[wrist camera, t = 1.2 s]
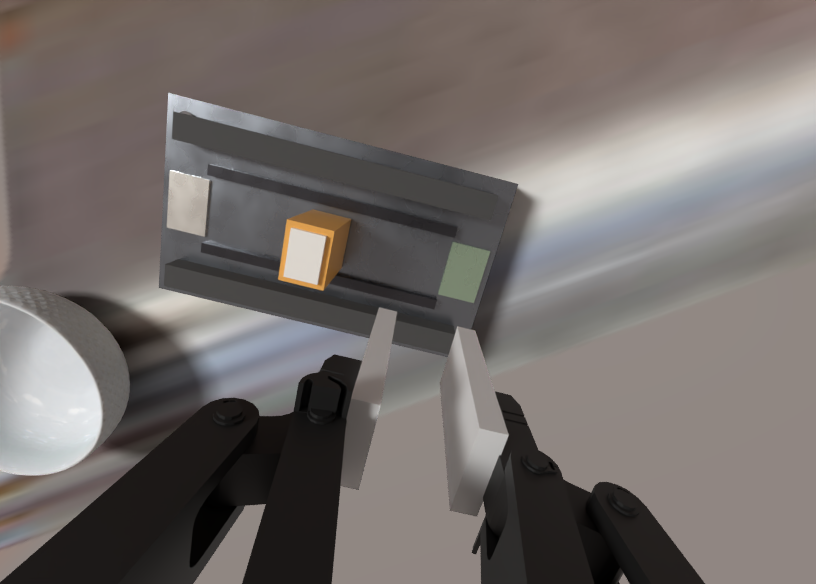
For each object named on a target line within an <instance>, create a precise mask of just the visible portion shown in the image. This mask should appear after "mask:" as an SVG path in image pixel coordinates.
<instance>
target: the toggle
mask: <svg viewBox="0 0 816 584" xmlns="http://www.w3.org/2000/svg"><path fill="white" fill-rule="evenodd" d="M350 224H351V219H350V218H346V217H342V216H338V215H334V214H330V213H326V212H322V211H318V210H314V209H312V210H310V211H307V212H305V213H302V214H299V215H297V216H294V217H292V218H289V219H287V222H286V229H285V236H284V243H283V249H282V256H281V263H280V270H279V276H278V280H281V281H285V282H289V283H293V284H298V285H302V286H306V287H310V288H314V289H318V290H322V291H324V289H325V288H326V287H327V286H328V284H329V283H330V282H331V281H332V279H333V278H334V277H335V276H336V274H337V273H338V272H339V271H340V269H341V268H342V264H343V259H344V254H345V249H346V244H347V239H348V234H349V229H350Z"/></svg>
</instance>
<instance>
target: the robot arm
mask: <svg viewBox="0 0 816 584" xmlns="http://www.w3.org/2000/svg"><path fill="white" fill-rule="evenodd" d="M396 316H397V311H393V310H389V309H384V308H380V307H379V309H378V312H377V316H376V319H375V322H374V325H373V328H372V332H371V335H370V338H369V341H368V344H367V348H366V351H365V354H364V357H363V360H362V361H360V360H356V359H352V358H347V357H343V356H339V355H333V356H332V357H330V358H328V359H327V360H325V362H324V364H323V366H322V368H321V370H320V372H318V373H312V374H309V375H307V376H305V377H303V378H302V379H301V381H300V382H299V385H298V390H297V396H296V401H295V407H294V412H292V413H290V414H286V415H282V416H259V411H258V409H257V408H256V406H255V405H254V404H253V403H250V402H248V401H246V400H243V399H238V398H222V399H219V400H215V401H212V402H210V403H208V404H207V405H205V406H203V407H202V408H201V409H200V410H199V411H197V412H196V413H195V414H194V415H193V416H192V417H191V418H189V419H188V420H187V421H186V422H185V423H184V424H182V425H181V426H180V427H179V428H178V429H177V430H176V431H174V432H173V433H172V434H171V435H170V436H169V437H167V438H166V439H165V440H164V441H163V442H162V443H161V444H159V445H158V446H157V447H156V448H155V449H154V450H152V451H151V452H150V453H149V454H148V455H147V456H146V457H144V458H143V459H142V460H141V461H140V462H139V463H137V464H136V465H135V466H134V467H133V468H132V469H131V470H129V471H128V472H127V473H126V474H125V475H124V476H122V477H121V478H120V479H119V480H118V481H117V482H116V483H114V484H113V485H112V486H111V487H110V488H109V489H107V490H106V491H105V492H104V493H103V494H102V495H101V496H99V497H98V498H97V499H96V500H95V501H94V502H92V503H91V504H90V505H89V506H88V507H87V508H86V509H84V510H83V511H82V512H81V513H80V514H79V515H77V516H76V517H75V518H74V519H73V520H72V521H71V522H69V523H68V524H67V525H66V526H65V527H64V528H62V529H61V530H60V531H59V532H58V533H57V534H56V535H54V536H53V537H52V538H51V539H50V540H49V541H48V542H46V543H45V544H44V545H43V546H42V547H41V548H39V549H38V550H37V551H36V552H35V553H34V554H33V555H31V556H30V557H29V558H28V559H27V560H26V561H24V562H23V563H22V564H21V565H20V566H19V567H17V568H16V569H15V570H14V571H13V572H12V573H11V574H9V575H8V576H7V577H6V578H5V579H4V580H2V581H1V582H0V584H193V583H194V582H195V580H196V579H197V577H198V576H199V574H200V573H201V571H202V570H203V569H204V567H205V566H206V564H207V563H208V561H209V560H210V558H211V556H212V555H213V554H214V552H215V551H216V549H217V548H218V546H219V545H220V543H221V542H222V540H223V539H224V537H225V536H226V534H227V533H228V531H229V530H230V528H231V527H232V526H233V524H234V523H235V521H236V519H237V518H238V516H239V515H240V514H241V512H242V511H243V509H244V506H245V505H258V504H266V506H265V509H264V512H263V516H262V519H261V523H260V526H259V529H258V532H257V536H256V539H255V543H254V546H253V549H252V553H251V556H250V559H249V563H248V566H247V569H246V573H245V576H244V579H243V583H242V584H331V582H332V573H333V561H334V550H335V539H336V529H337V518H338V506H339V496H340V486H343V487H348V488H352V489H356V490H359V486H360V482H361V478H362V475H363V471H364V467H365V463H366V459H367V455H368V452H369V448H370V444H371V440H372V436H373V433H374V429H375V425H376V421H377V417H378V413H379V410H380V406H381V400H382V395H383V389H384V383H385V378H386V372H387V367H388V361H389V355H390V350H391V344H392V338H393V333H394V327H395V321H396ZM440 391H441V404H442V416H443V428H444V442H445V454H446V466H447V479H448V490H449V491H448V492H449V505H450V511H455V512H459V513H463V514H468V515H473V516H477V515H478V512H479V510H480V507H481V505H482V502H483V501H484V507H485V512H486V516H485V518H484V521H483V523H482V526H481V528H480V531H479V533H478V536H477V538H476V541H475V543H474V546H473V550H472V553H473V554H476V553H477V550H478V548H479V546H480V545H481V584H619V580H620V578H621V576H622V575H623V573H624V575H625V576H626V578H627V579H628V581H629V583H630V584H705V583H704V582H703V580H702V579H701V578H700V577H699V575H698V574H697V573H696V571H695V570H694V569H693V567H692V566H691V565H690V564H689V562H688V561H687V560H686V558H685V557H684V556H683V554H682V553H681V552H680V550H679V549H678V548H677V546H676V545H675V544H674V542H673V541H672V540H671V538H670V537H669V536H668V535H667V533H666V532H665V531H664V529H663V528H662V527H661V525H660V524H659V523H658V521H657V520H656V519H655V517H654V516H653V515H652V514H651V512H650V511H649V510H648V508H647V507H646V506H645V505H644V504H643V503H642V502H641V501H640V500H639V498H637V497H636V496H635V495H633V494H632V493H631V492H630V491H628V490H627V489H625V488H622V487H621V486H618V485H616V484H612V483H609V482H599V483H598V484H596V485H595V486H594V488H593V491H592V493H590V492H588V491H586V490H584V489H581V488H579V487H577V486H575V485H573V484H571V483H569V482H567V481H565V480H563V477H562V473H561V471H560V469H559V467H558V465H557V464H556V463H555V462H554V461H553V460H552V459H551V458H550V457H548V456H547V455H545V454H544V453H542V452H541V451H539V450H538V448H537V446H536V443H535V441H534V438H533V436H532V433H531V431H530V429H529V426H527V421H526V419H525V417H524V414H523V411H522V409H521V406H520V405H519V404H518V403H517V402H516V401H515V400H514V398H513V397H512V396H511V395H508V394H503V393H499V392H495V391H494V388H493V384H492V381H491V378H490V375H489V372H488V369H487V366H486V363H485V359H484V356H483V353H482V350H481V347H480V344H479V341H478V338H477V335H476V331H475V330H471V329H466V328H462V327H458V326H457V329H456V333H455V336H454V339H453V342H452V345H451V349H450V352H449V355H448V358H447V362H446V365H445V368H444V371H443V374H442V378H441V381H440Z"/></svg>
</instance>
